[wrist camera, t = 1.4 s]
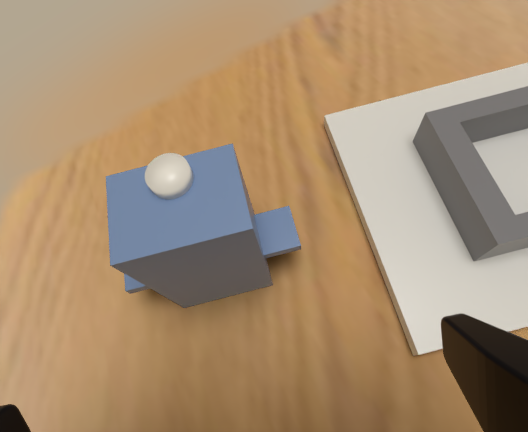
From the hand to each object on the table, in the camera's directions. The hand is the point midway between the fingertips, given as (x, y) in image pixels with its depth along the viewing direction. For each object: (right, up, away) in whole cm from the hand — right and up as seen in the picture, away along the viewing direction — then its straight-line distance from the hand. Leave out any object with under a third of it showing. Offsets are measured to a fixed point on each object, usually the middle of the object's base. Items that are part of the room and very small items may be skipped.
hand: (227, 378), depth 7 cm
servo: (-2, 0, +15) cm, 15 cm away
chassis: (+17, +5, +15) cm, 23 cm away
